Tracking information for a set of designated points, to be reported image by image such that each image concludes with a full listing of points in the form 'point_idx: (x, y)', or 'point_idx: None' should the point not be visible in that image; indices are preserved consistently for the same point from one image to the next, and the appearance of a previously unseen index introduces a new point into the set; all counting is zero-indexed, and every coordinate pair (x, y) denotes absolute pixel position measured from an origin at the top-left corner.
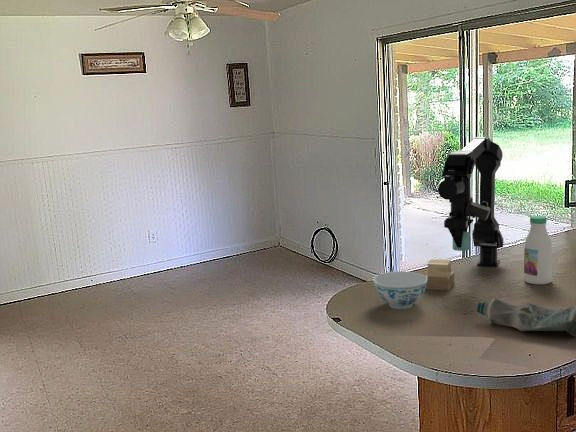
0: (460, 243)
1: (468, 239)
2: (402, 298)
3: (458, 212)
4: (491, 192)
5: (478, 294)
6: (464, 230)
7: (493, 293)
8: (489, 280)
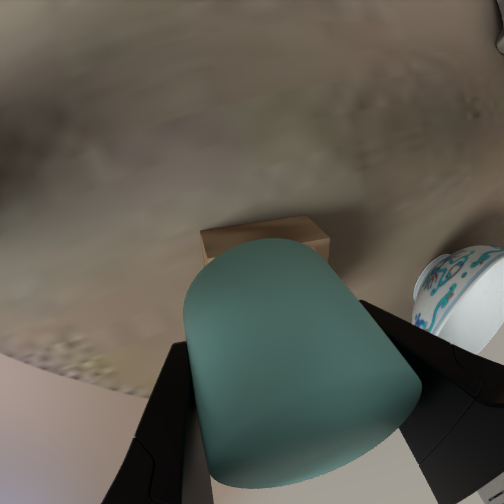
0: (392, 322)
1: (340, 309)
2: (495, 270)
3: None
4: None
5: (324, 88)
6: (191, 474)
7: (293, 30)
8: (91, 99)
